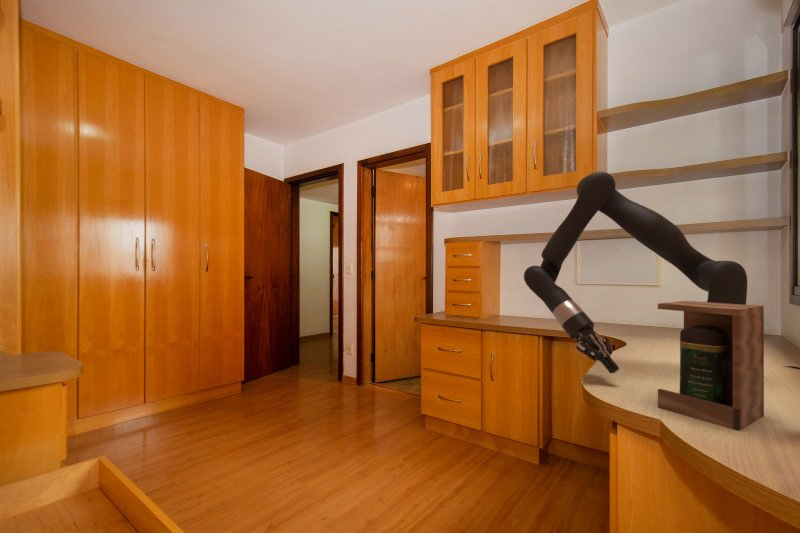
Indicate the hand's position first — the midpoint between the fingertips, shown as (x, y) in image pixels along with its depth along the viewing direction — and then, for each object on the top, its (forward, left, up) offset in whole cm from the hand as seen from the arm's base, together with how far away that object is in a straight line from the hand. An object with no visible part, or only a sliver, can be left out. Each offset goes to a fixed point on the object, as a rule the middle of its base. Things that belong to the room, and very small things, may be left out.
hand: (615, 371), depth 98 cm
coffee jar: (0, +19, -4) cm, 19 cm away
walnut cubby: (0, +20, -4) cm, 20 cm away
